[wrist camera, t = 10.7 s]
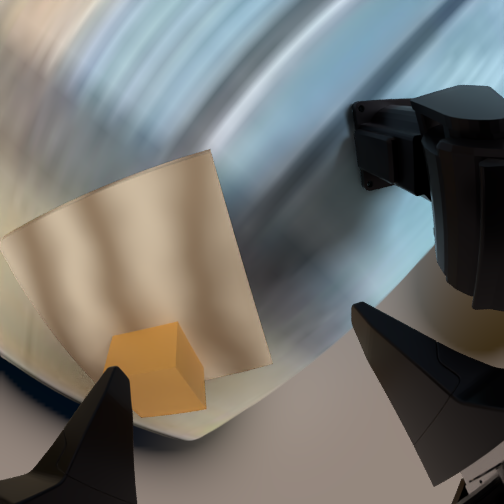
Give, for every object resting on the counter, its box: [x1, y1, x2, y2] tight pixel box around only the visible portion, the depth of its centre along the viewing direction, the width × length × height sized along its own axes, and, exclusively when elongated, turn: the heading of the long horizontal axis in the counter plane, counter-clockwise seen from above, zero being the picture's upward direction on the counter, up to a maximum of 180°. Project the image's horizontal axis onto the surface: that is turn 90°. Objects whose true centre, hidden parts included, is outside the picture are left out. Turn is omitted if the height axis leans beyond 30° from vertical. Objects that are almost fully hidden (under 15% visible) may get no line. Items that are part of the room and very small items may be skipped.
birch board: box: [0, 149, 273, 383], centre depth 19 cm, size 18×19×5 cm
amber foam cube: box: [103, 321, 206, 418], centre depth 20 cm, size 6×6×4 cm
